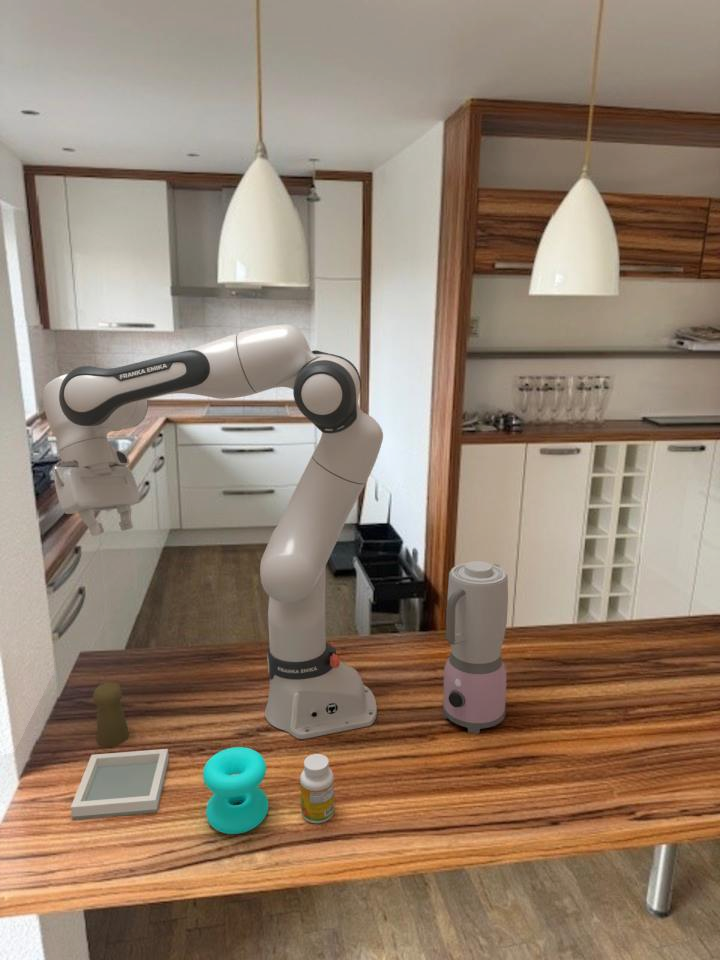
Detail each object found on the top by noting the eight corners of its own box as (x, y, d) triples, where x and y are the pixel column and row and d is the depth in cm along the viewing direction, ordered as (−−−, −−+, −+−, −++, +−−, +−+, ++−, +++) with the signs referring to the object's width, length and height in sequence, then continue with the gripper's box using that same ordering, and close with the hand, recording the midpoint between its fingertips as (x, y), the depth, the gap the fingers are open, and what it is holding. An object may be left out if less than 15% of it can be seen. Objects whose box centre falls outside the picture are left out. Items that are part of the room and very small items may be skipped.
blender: (466, 691, 151) (470, 549, 142) (517, 713, 143) (524, 564, 134) (420, 724, 140) (421, 572, 131) (472, 751, 132) (477, 590, 123)
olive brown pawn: (119, 749, 134) (113, 697, 131) (90, 745, 135) (83, 693, 132) (135, 729, 139) (129, 679, 136) (107, 726, 140) (100, 676, 137)
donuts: (269, 742, 119) (261, 783, 109) (272, 793, 121) (264, 838, 112) (209, 743, 119) (196, 784, 109) (213, 794, 121) (200, 838, 112)
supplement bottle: (301, 802, 119) (299, 752, 117) (333, 799, 120) (332, 749, 117) (301, 825, 114) (299, 773, 111) (335, 823, 114) (333, 771, 112)
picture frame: (168, 760, 130) (167, 748, 130) (156, 812, 117) (155, 800, 117) (93, 766, 129) (91, 754, 128) (72, 819, 116) (70, 807, 115)
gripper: (67, 454, 121) (93, 531, 120) (132, 455, 141) (156, 521, 140) (36, 467, 122) (63, 543, 121) (106, 467, 142) (129, 532, 141)
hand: (113, 531), depth 131 cm, fingers open, 8 cm apart
